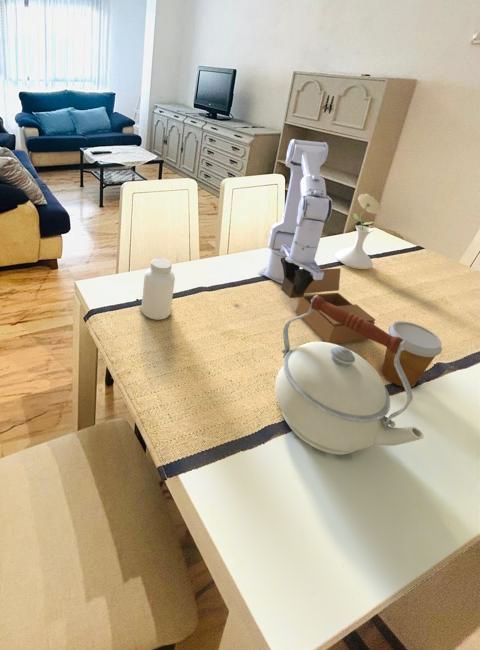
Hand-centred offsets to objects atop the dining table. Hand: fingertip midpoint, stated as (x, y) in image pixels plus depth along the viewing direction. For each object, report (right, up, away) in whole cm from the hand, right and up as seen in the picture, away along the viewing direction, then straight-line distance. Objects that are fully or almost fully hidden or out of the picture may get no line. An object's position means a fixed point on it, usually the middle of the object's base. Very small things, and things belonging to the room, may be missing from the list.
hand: (293, 288), depth 101 cm
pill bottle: (-36, -7, +3) cm, 37 cm away
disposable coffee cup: (+17, -17, -14) cm, 28 cm away
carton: (+11, -10, +2) cm, 15 cm away
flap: (+10, +1, +5) cm, 11 cm away
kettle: (-6, -21, -27) cm, 35 cm away
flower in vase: (+36, +2, +35) cm, 51 cm away
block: (0, -1, +1) cm, 1 cm away
